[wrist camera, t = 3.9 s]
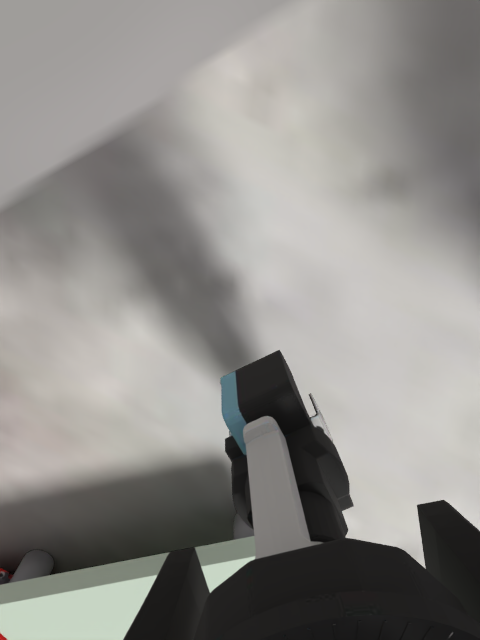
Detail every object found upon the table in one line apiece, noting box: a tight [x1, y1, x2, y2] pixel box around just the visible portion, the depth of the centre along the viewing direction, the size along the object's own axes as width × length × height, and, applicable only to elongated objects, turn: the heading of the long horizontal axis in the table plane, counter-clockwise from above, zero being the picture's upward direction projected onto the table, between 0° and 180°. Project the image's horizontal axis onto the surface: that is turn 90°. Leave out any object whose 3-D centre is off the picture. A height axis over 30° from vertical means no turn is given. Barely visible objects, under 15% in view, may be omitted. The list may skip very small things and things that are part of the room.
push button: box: [193, 350, 480, 640], centre depth 10 cm, size 7×5×10 cm
